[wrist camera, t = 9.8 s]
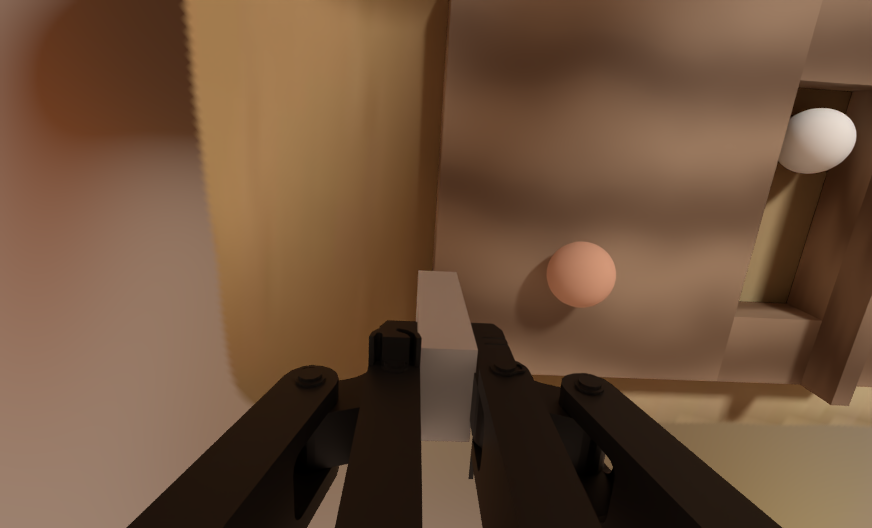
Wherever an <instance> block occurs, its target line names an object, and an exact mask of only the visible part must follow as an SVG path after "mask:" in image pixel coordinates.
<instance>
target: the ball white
mask: <svg viewBox="0 0 872 528" xmlns="http://www.w3.org/2000/svg"><path fill="white" fill-rule="evenodd" d="M855 142H856V129H855V126H854V124H853V122H852V121H851V119H850V118H849V117H848V116H846V115H845V114H843V113H842V112H839V111H837V110H834V109H829V108H815V109H809V110H806V111H803V112H800V113H798V114H796V115H794V116H793V117H791V118H790V119H789V123H788V126H787V130H786V134H785V137H784V141H783V144H782V148H781V152H780V155H779V159H778V162H779V163H780V164H781V165H782V166H784V167H785V168H787V169H789V170H791V171H793V172H797V173H803V174H812V173H819V172H823V171H826V170H828V169H831V168H833V167H835V166H836V165H838V164H840V163H841V162H842V161H843V160H844V159H845V158H846V157H847V156H848V155H849V154H850V152H851V151H852V149H853V147H854V145H855Z"/></svg>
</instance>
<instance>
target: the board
mask: <svg viewBox="0 0 872 528" xmlns="http://www.w3.org/2000/svg"><path fill="white" fill-rule="evenodd" d="M798 88H810V89H824V90H838V91H852V96H851V99H850V102H849V105H848V108H847V112H846V116H848V117H849V118H850V119H851V121H852V122H853V124H854V126H855V129H856V142H855V145H854V147H853V149H852V151H851V152H850V154H849V155H848V156H847V157H846V158H845V159H844V160H843V161H842V162H841V163H840V164H838V165H836V166H835V167H833V168H831V169H828V172H827V176H826V179H825V182H824V185H823V188H822V192H821V195H820V198H819V201H818V204H817V208H816V211H815V214H814V217H813V221H812V224H811V227H810V230H809V233H808V237H807V240H806V243H805V246H804V249H803V253H802V256H801V259H800V262H799V265H798V269H797V272H796V275H795V278H794V281H793V285H792V288H791V291H790V294H789V297H788V301H787V304H785V303H763V302H741V301H739V299H740V295H741V292H742V288H743V285H744V281H745V277H746V274H747V270H748V267H749V263H750V259H751V256H752V252H753V249H754V245H755V241H756V238H757V234H758V231H759V227H760V223H761V220H762V216H763V213H764V209H765V205H766V202H767V198H768V195H769V191H770V188H771V184H772V180H773V177H774V173H775V170H776V166H777V162H778V159H779V155H780V152H781V148H782V144H783V141H784V137H785V134H786V130H787V126H788V123H789V119H790V116H791V112H792V108H793V105H794V101H795V98H796V94H797V90H798ZM578 241H583V242H590V243H593V244H596V245H598V246H600V247H601V248H603V249H604V250H605V251H606V252H607V253H608V254H609V255H610V257H611V258H612V260H613V262H614V265H615V269H616V281H615V285H614V287H613V289H612V291H611V293H610V294H609V295H608V297H607V298H606V299H604V300H603V301H602V302H600V303H598V304H596V305H594V306H590V307H585V308H579V307H573V306H569V305H567V304H565V303H563V302H561V301H560V300H559V299H558V298H557V297H556V296H555V295H554V294H553V293H552V291H551V290H550V288H549V285H548V282H547V275H546V274H547V267H548V263H549V261H550V259H551V257H552V256H553V254H554V253H555V252H556V251H557V250H558V249H560V248H561V247H563V246H564V245H567V244H569V243H573V242H578ZM432 271H443V272H457V276H458V279H459V283H460V287H461V290H462V294H463V298H464V301H465V305H466V309H467V312H468V316H469V319H470V323H492V324H495V325H496V326H497V327H498V328H500V329H501V330H502V331H503V333H504V336H505V339H506V340H507V343H508V346H509V347H510V350H511V352H512V354H513V357H514V359H515V361H518V362H520V363H521V364H523V365H525V366H526V367H527V368H528V370H529V371H530V373H531V374H532V375H559V376H566V375H569V374H573V373H588V374H592V375H595V376H597V377H613V378H640V379H667V380H695V381H722V382H749V383H776V384H801V385H802V386H804V387H805V388H806V389H808V390H809V391H811V392H812V393H814V394H815V395H817V396H818V397H820V398H821V399H823V400H824V401H826V402H827V403H829V404H830V405H843V406H849V404H850V401H851V399H852V396H853V393H854V391H855V388H856V386H857V387H872V0H449V7H448V23H447V39H446V56H445V72H444V89H443V105H442V121H441V138H440V154H439V170H438V187H437V203H436V220H435V236H434V252H433V269H432Z"/></svg>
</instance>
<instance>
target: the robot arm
mask: <svg viewBox="0 0 872 528" xmlns="http://www.w3.org/2000/svg"><path fill="white" fill-rule="evenodd" d="M470 428H471V430H472V436H473V439H472V449H471V459H470V470H469V479H473V475H474V476H475V483H476V489H477V495H478V501H479V508H480V514H481V520H482V526H483V528H782V527H781V526H779V525H778V524H777V523H776V522H775V521H774V520H772V519H771V518H770V517H769V516H768V515H766V514H765V513H764V512H763V511H762V510H760V509H759V508H758V507H757V506H756V505H755V504H753V503H752V502H751V501H750V500H748V499H747V498H746V497H745V496H744V495H743V494H741V493H740V492H739V491H738V490H736V489H735V488H734V487H733V486H732V485H731V484H730V483H728V482H727V481H726V480H725V479H724V478H722V477H721V476H720V475H719V474H717V473H716V472H715V471H714V470H713V469H712V468H711V467H709V466H708V465H707V464H706V463H705V462H703V461H702V460H701V459H700V458H699V457H697V456H696V455H695V454H694V453H693V452H692V451H690V450H689V449H688V448H687V447H686V446H684V445H683V444H682V443H681V442H680V441H678V440H677V439H676V438H675V437H674V436H672V435H671V434H670V433H669V432H668V431H666V430H665V429H664V428H663V427H662V426H661V425H659V424H658V423H657V422H656V421H655V420H653V419H652V418H651V417H650V416H649V415H648V414H646V413H645V412H644V411H643V410H642V409H640V408H639V407H638V406H637V405H636V404H634V403H633V402H632V401H631V400H630V399H629V398H627V397H626V396H625V395H624V394H623V393H621V392H620V391H619V390H618V389H617V388H615V387H614V386H613V385H612V384H610V383H609V382H607V381H606V380H604V379H602V378H599V377H597V376H595V375H592V374H588V373H573V374H569V375H566V376H565V377H564V378H562V383H561V387H556V386H552V385H547V384H543V383H539V382H537V381H534V379H533V377H532V375H531V373H530V371H529V370H528V368H527V367H526V366H525V365H523V364H521V363H520V362H518V361H515V359H514V357H513V354H512V352H511V350H510V347H509V346H508V343H507V340H506V339H505V336H504V333H503V331H502V330H501V329H500V328H498V327H497V326H496V325H495V324H492V323H470V319H469V316H468V312H467V309H466V305H465V301H464V298H463V294H462V290H461V287H460V283H459V279H458V276H457V272H443V271H421V270H418V288H417V308H416V322H413V321H388V320H387V321H386V322H385V323H384V324H383V325H381V326H380V328H379V329H377V330H375V331H373V332H372V333H371V334H370V336H369V366H368V371H367V372H366V373H364V374H363V375H360V376H358V377H355V378H351V379H346V380H339V378H338V375H337V373H336V372H335V371H333V370H332V369H330V368H327V367H324V366H315V365H309V366H303V367H300V368H297V369H294V370H292V371H290V372H289V373H287V374H286V375H284V376H283V377H282V378H281V379H280V380H279V381H278V382H277V383H276V384H275V385H274V386H273V387H272V388H271V389H270V390H269V391H268V392H267V393H266V394H265V395H264V396H263V397H262V398H261V399H260V400H259V401H257V402H256V403H255V404H254V405H253V406H252V407H251V408H250V409H249V410H248V411H247V412H246V413H245V414H244V415H243V416H242V417H241V418H240V419H239V420H238V421H237V422H236V423H235V424H234V425H233V426H232V427H230V428H229V429H228V430H227V431H226V432H225V433H224V434H223V435H222V436H221V437H220V438H219V439H218V440H217V441H216V442H215V443H214V444H213V445H212V446H211V447H210V448H209V449H208V450H207V451H206V452H205V453H204V454H202V455H201V456H200V457H199V458H198V459H197V460H196V461H195V462H194V463H193V464H192V465H191V466H190V467H189V468H188V469H187V470H186V471H185V472H184V473H183V474H182V475H181V476H180V477H179V478H178V479H177V480H176V481H174V483H172V484H171V485H170V486H169V487H168V488H167V489H166V490H165V491H164V492H163V493H162V494H161V495H160V496H159V497H158V498H157V499H156V500H155V501H154V502H153V503H152V504H151V505H150V506H149V507H147V508H146V510H145V511H143V512H142V513H141V514H140V515H139V516H138V517H137V518H136V519H135V520H134V521H133V522H132V523H131V524H130V525H129V526H128V527H127V528H307V527H308V525H309V523H310V521H311V520H312V518H313V516H314V514H315V512H316V511H317V509H318V507H319V506H320V504H321V502H322V500H323V499H324V497H325V495H326V493H327V492H328V490H329V488H330V486H331V485H332V483H333V481H334V479H335V477H336V476H337V472H338V469H339V466H340V465H344V464H348V467H347V472H346V477H345V482H344V486H343V491H342V496H341V501H340V506H339V511H338V515H337V520H336V525H335V528H422V471H421V470H422V469H421V441H456V442H469V439H470ZM605 454H606V455H607V457H608V458H609V459H610V461H611V463H612V466H613V469H612V471H611V470H610V469H609V468H608V467H607V466H606V465H605V463H604V459H605Z"/></svg>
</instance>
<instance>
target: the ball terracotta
mask: <svg viewBox="0 0 872 528" xmlns="http://www.w3.org/2000/svg"><path fill="white" fill-rule="evenodd" d="M546 275H547V282H548V285H549V288H550V290H551V291H552V293H553V294H554V295H555V296H556V297H557V298H558V299H559V300H560V301H561V302H563V303H565V304H567V305H569V306H573V307H579V308H585V307H590V306H594V305H596V304H598V303H600V302H602V301H603V300H604V299H606V298H607V297H608V295H609V294H610V293H611V291H612V289H613V287H614V285H615V281H616V269H615V265H614V262H613V260H612V258H611V257H610V255H609V254H608V253H607V252H606V251H605V250H604V249H603V248H601V247H600V246H598V245H596V244H593V243H590V242H583V241H578V242H573V243H569V244H567V245H564V246H563V247H561V248H560V249H558V250H557V251H556V252H555V253H554V254H553V256H552V257H551V259H550V261H549V263H548V267H547V274H546Z"/></svg>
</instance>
